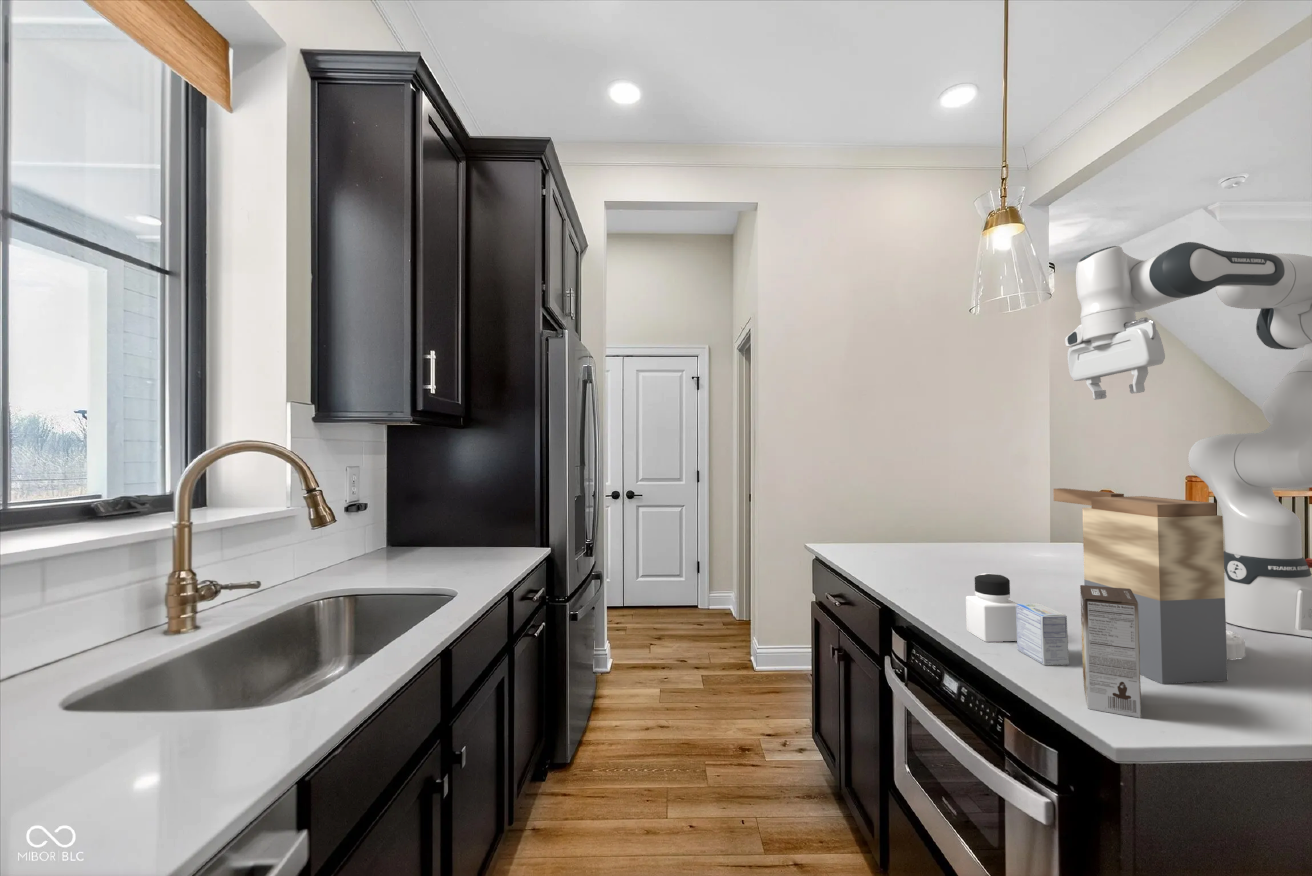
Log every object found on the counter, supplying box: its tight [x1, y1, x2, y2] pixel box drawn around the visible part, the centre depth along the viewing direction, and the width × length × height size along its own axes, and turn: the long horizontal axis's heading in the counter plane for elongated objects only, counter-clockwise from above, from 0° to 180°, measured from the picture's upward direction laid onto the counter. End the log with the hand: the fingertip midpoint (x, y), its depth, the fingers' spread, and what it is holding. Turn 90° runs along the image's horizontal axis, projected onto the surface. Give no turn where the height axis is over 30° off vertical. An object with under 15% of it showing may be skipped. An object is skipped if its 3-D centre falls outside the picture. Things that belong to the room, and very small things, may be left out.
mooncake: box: [1226, 629, 1246, 661], centre depth 109 cm, size 12×12×4 cm
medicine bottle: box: [965, 573, 1019, 643], centre depth 117 cm, size 7×7×12 cm
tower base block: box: [1083, 578, 1228, 685], centre depth 101 cm, size 11×15×13 cm
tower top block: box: [1081, 507, 1225, 601], centre depth 101 cm, size 11×15×13 cm
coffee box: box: [1079, 584, 1142, 719], centre depth 87 cm, size 9×6×16 cm
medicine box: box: [1016, 602, 1070, 666], centre depth 105 cm, size 8×4×9 cm, turn 179°
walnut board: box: [1052, 487, 1217, 517], centre depth 108 cm, size 10×27×2 cm, turn 4°
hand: (1118, 396), depth 119 cm, fingers open, 8 cm apart
